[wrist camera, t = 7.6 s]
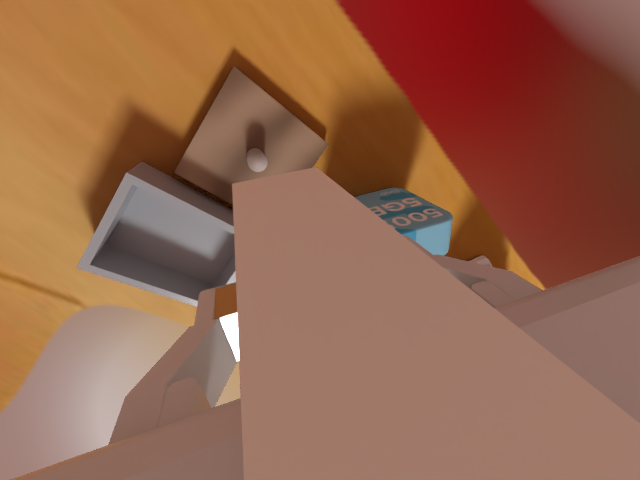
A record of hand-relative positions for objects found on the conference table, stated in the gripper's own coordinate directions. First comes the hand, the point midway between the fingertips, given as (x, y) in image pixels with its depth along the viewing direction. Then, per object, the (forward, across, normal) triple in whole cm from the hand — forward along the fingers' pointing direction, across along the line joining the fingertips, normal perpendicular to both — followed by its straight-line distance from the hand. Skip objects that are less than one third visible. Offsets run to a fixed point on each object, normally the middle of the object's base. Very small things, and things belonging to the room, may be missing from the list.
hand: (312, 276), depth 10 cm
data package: (+25, -13, +10) cm, 30 cm away
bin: (+25, +10, +7) cm, 28 cm away
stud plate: (+25, 0, 0) cm, 25 cm away
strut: (+6, 0, 0) cm, 6 cm away
